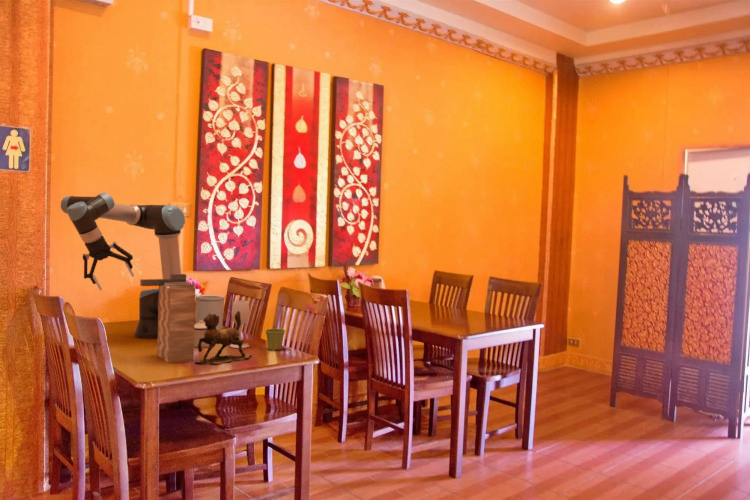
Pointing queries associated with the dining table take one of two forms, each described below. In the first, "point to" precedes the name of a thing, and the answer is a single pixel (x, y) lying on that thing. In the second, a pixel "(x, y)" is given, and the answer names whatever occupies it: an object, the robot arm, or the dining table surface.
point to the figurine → (221, 341)
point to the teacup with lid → (199, 334)
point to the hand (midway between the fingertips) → (117, 282)
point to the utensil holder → (209, 308)
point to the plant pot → (275, 338)
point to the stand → (176, 322)
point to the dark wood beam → (163, 280)
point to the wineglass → (244, 316)
